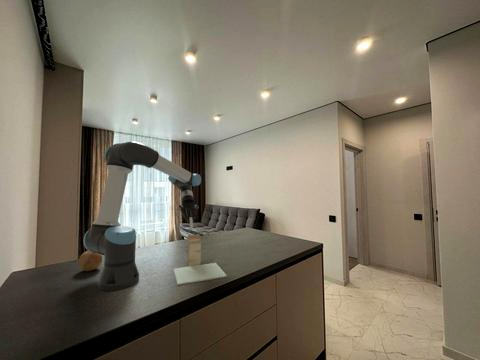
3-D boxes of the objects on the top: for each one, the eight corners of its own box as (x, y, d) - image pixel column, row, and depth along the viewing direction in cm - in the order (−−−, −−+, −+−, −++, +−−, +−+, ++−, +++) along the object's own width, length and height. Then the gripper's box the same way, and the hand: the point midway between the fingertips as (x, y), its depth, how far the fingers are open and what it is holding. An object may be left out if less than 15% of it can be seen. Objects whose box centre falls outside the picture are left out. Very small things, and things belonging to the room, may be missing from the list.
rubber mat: (173, 269, 102) (173, 268, 102) (215, 263, 111) (215, 262, 111) (177, 285, 86) (177, 283, 86) (226, 276, 94) (226, 275, 94)
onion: (103, 265, 108) (104, 246, 108) (99, 272, 99) (99, 251, 99) (81, 268, 104) (82, 248, 105) (74, 275, 95) (75, 253, 95)
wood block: (187, 262, 112) (187, 235, 113) (198, 261, 114) (198, 234, 115) (189, 266, 107) (189, 237, 107) (200, 265, 109) (200, 236, 110)
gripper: (196, 201, 142) (201, 230, 126) (177, 202, 137) (179, 232, 121) (198, 194, 137) (203, 222, 121) (178, 194, 132) (181, 224, 116)
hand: (191, 227), depth 121 cm, fingers closed
